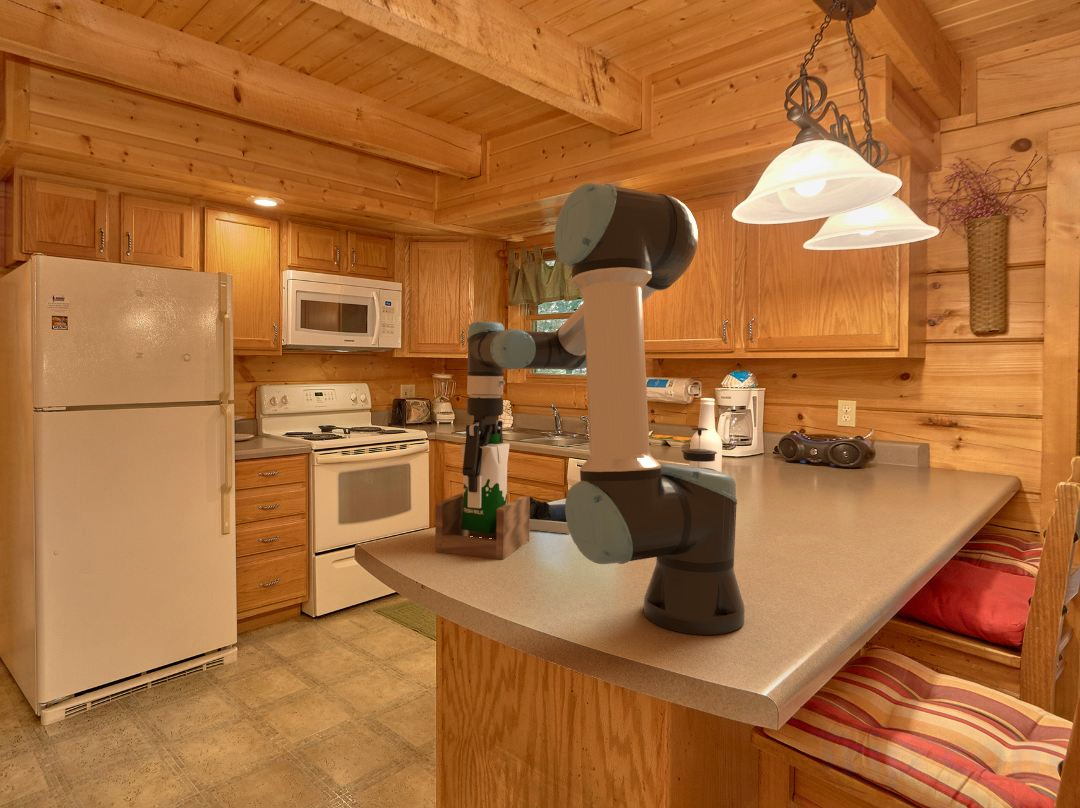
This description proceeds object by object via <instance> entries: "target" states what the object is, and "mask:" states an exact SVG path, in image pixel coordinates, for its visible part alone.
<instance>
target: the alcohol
mask: <svg viewBox="0 0 1080 808" xmlns="http://www.w3.org/2000/svg"><path fill="white" fill-rule="evenodd" d="M699 400H700V402H699V405H700V407H699V418H698V423H697V425H698V426H697V428H706V429H708V430H702V434H701V436H700V449H706V450H711V451H716V452H717V454H715V461H710V462H699V468H709V469H714V470H716V471H719V472H723V471H722V468H723V442H722V438H721V436H720V435H719V434H718V432H717V429H716V421H715V420H716V419H715V418H716V416H715V415H716V414H715V405H716V403H715V401H716V400H715V398H710V397H704V398H703V397H701V398H700V399H699ZM689 449H699V435H698V430H696V432H694V434H693V435H692V437H691V439H690V443H689ZM689 467H698V461H689Z"/></svg>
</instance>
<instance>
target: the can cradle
mask: <svg viewBox="0 0 1080 808" xmlns="http://www.w3.org/2000/svg"><path fill="white" fill-rule="evenodd" d="M529 529H530V530H529V531H531V530H540V531H539V532H541V531H549V532H548V533H551V532H558V533H557V534H561V533H566V534H565V535H570V532H569V529H568V525H567V522H557V521H546V520H536V519H530V515H529Z"/></svg>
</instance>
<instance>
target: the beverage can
mask: <svg viewBox="0 0 1080 808" xmlns="http://www.w3.org/2000/svg"><path fill="white" fill-rule="evenodd" d="M530 519H536V520H546V521H557V522H567V521H566V514H565V503H558V504H549V502H547V501H541V500H536V499H534V498H533V497H531V496H530Z"/></svg>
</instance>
